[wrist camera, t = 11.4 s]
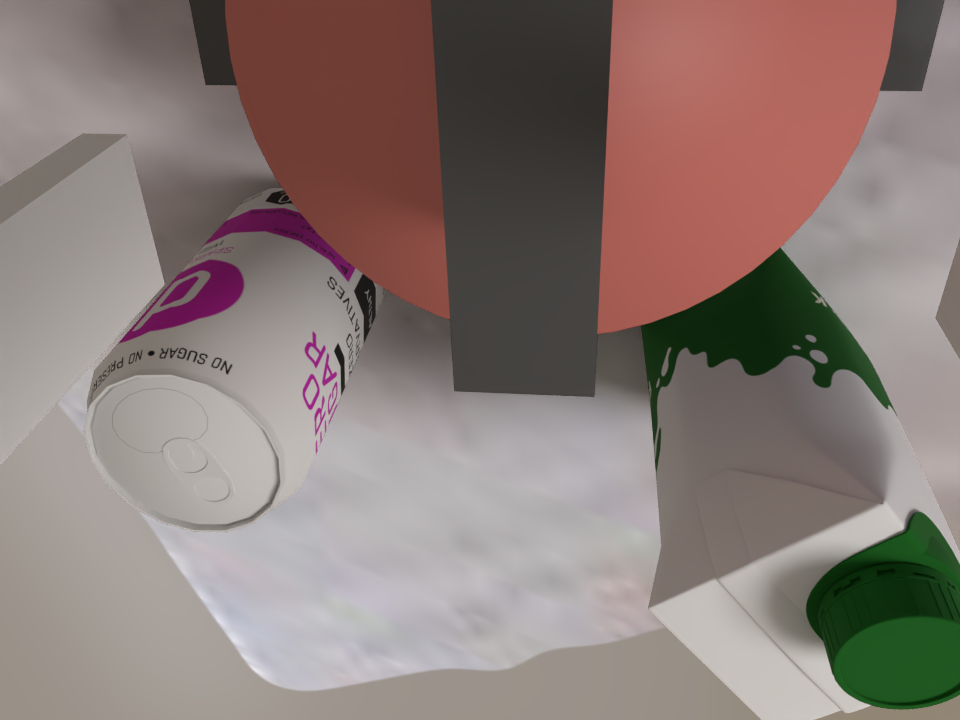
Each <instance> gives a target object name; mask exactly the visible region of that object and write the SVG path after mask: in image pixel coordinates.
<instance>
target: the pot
mask: <svg viewBox="0 0 960 720" xmlns="http://www.w3.org/2000/svg"><path fill="white" fill-rule="evenodd" d="M189 2H190V7H191V12H192V17H193V22H194V27H195V32H196V37H197V43H198V48H199V53H200V58H201V63H202V68H203V73H204V78H205V83H206V85H237V83H236V79H235V75H234V71H233V67H232V63H231V58H230V50H229V42H228V33H227V25H226V17H225V0H189ZM943 4H944V0H897V4H896V15H895V22H894V28H893V35H892V41H891V48H890V55H889V59H888V62H887V66H886V70H885V73H884V77H883V80H882V84H881V87H880V91H922V88H923V84H924V80H925V76H926V72H927V68H928V64H929V60H930V56H931V52H932V48H933V44H934V40H935V36H936V32H937V28H938V24H939V20H940V16H941V12H942V8H943Z"/></svg>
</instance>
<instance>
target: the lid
mask: <svg viewBox="0 0 960 720" xmlns="http://www.w3.org/2000/svg"><path fill="white" fill-rule="evenodd" d="M896 4H897V0H225V17H226V25H227V33H228V42H229V50H230V58H231V63H232V67H233V71H234V75H235V79H236V83H237V87H238V91H239V95H240V99H241V102H242V105H243V107H244V110H245V113H246V115H247V118H248V121H249V123H250V126H251V129H252V131H253V134H254V137H255V139H256V141H257V143H258V145H259V147H260V149H261V151H262V153H263V155H264V157H265V159H266V161H267V163H268V165H269V167H270V169H271V171H272V172H273V174H274V176H275V177H276V179H277V180H278V182H279V183H280V185H281V186H282V188H283V189H284V191H285V192H286V194H287V195H288V197H289V198H290V200H291V201H292V203H293V204H294V206H295V207H296V208H297V210H298V211H299V212H300V213H301V214H302V216H303V217H304V218H305V219H306V220H307V221H308V223H309V224H310V225H311V226H312V227H313V229H314V230H315V231H316V232H317V233H318V235H319V236H320V237H321V238H322V239H323V240H325V241H326V242H327V243H328V244H329V245H330V246H331V247H332V248H333V249H334V250H335V251H336V252H337V253H338V254H339V255H340V256H341V257H343V258H344V259H345V260H346V261H347V262H348V263H349V264H351V265H352V266H353V267H355V268H356V269H357V270H359V271H360V272H361V273H363V274H364V275H365V276H367V277H368V278H369V279H371V280H372V281H373V282H375V283H376V284H378V285H379V286H381V287H383V288H385V289H386V290H388V291H390V292H391V293H393V294H395V295H396V296H398V297H400V298H402V299H403V300H405V301H407V302H409V303H411V304H413V305H415V306H418V307H420V308H422V309H424V310H427V311H429V312H431V313H433V314H435V315H438V316H440V317H443V318H446V319H449V320H450V328H451V344H452V361H453V377H454V391H462V392H487V393H512V394H537V395H561V396H586V397H594V394H595V373H596V351H597V334H601V333H609V332H616V331H620V330H624V329H628V328H632V327H636V326H640V325H644V324H648V323H651V322H654V321H657V320H659V319H662V318H665V317H667V316H670V315H673V314H675V313H678V312H681V311H683V310H686V309H688V308H690V307H692V306H694V305H696V304H698V303H700V302H702V301H704V300H706V299H708V298H709V297H711V296H713V295H715V294H717V293H719V292H721V291H722V290H724V289H725V288H727V287H728V286H730V285H732V284H733V283H735V282H736V281H738V280H739V279H741V278H742V277H744V276H745V275H747V274H748V273H750V272H751V271H753V270H754V269H755V268H756V267H757V266H759V265H760V264H761V263H762V262H763V261H765V260H766V259H767V258H768V257H769V256H771V255H772V254H773V253H774V252H775V251H776V250H778V249H779V248H780V247H781V246H782V245H784V243H785V242H786V241H787V240H788V239H789V238H790V237H791V236H792V235H793V234H794V233H795V232H796V231H797V230H798V229H799V228H800V227H801V226H802V224H803V223H804V222H805V221H806V220H807V219H808V218H809V217H810V216H811V215H812V214H813V212H814V211H815V210H816V208H817V207H818V206H819V204H820V203H821V202H822V200H823V199H824V198H825V196H826V195H827V193H828V192H829V191H830V189H831V188H832V187H833V185H834V184H835V183H836V181H837V180H838V178H839V176H840V175H841V173H842V171H843V169H844V168H845V166H846V164H847V162H848V161H849V159H850V157H851V156H852V154H853V152H854V150H855V149H856V147H857V145H858V143H859V141H860V139H861V137H862V134H863V132H864V129H865V127H866V125H867V122H868V120H869V118H870V115H871V113H872V111H873V108H874V106H875V104H876V101H877V98H878V94H879V91H880V87H881V84H882V80H883V77H884V73H885V70H886V66H887V62H888V59H889V55H890V48H891V41H892V35H893V28H894V22H895V15H896Z"/></svg>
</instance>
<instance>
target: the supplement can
mask: <svg viewBox="0 0 960 720" xmlns="http://www.w3.org/2000/svg"><path fill="white" fill-rule="evenodd" d="M385 293H386V289H385V288H383V287H381V286H379V285H378V284H376V283H375V282H373V281H372V280H371V279H369V278H368V277H367V276H365V275H364V274H363V273H361V272H360V271H359V270H357V269H356V268H355V267H353V266H352V265H351V264H349V263H348V262H347V261H346V260H345V259H344V258H343V257H341V256H340V255H339V254H338V253H337V252H336V251H335V250H334V249H333V248H332V247H331V246H330V245H329V244H328V243H327V242H326V241H325V240H323V239H322V238H321V237H320V236H319V235H318V233H317V232H316V231H315V230H314V229H313V227H312V226H311V225H310V224H309V223H308V221H307V220H306V219H305V218H304V217H303V216H302V214H301V213H300V212H299V211H298V210H297V208H296V207H295V206H294V204H293V203H292V201H291V200H290V198H289V197H288V195H287V194H286V192H285V191H284V189H283V188H269V189H267V190H265V191H262V192H260V193H258V194H256V195H254V196H251V197H249V198H247V199H245V200H243V201H242V203H241V204H240V205H239V206H238V207H237V208H236V209H235V210H234V212H233V213H232V214H231V215H230V216H229V217H228V218H227V219H226V221H225V222H224V223H223V224H222V225H221V226H220V227H219V229H218V230H217V231H216V232H215V233H214V234H213V235H212V237H211V238H210V239H209V240H208V241H207V242H206V243H205V245H204V246H203V247H202V248H201V249H200V250H199V251H198V253H197V254H196V255H195V256H194V257H193V258H192V259H191V261H190V262H189V263H188V264H187V265H186V266H185V267H184V269H183V270H182V271H181V272H180V273H179V274H178V275H177V277H176V278H175V279H174V280H173V281H172V282H171V283H170V285H169V286H168V287H167V288H166V289H165V290H164V292H163V293H162V294H161V295H160V296H159V297H158V298H157V300H156V301H155V302H154V303H153V304H152V305H151V306H150V308H149V309H148V310H147V311H146V312H145V313H144V314H143V316H142V317H141V318H140V319H139V320H138V321H137V322H136V324H135V325H134V326H133V327H132V328H131V329H130V330H129V332H128V333H127V334H126V335H125V336H124V337H123V338H122V340H121V341H120V342H119V343H118V344H117V345H116V346H115V348H114V349H113V350H112V351H111V352H110V353H109V354H108V356H107V357H106V358H105V359H104V360H103V361H102V362H101V364H100V365H99V366H98V367H97V368H96V369H95V370H94V373H93V378H92V382H91V386H90V391H89V395H88V400H87V409H88V413H87V418H86V422H85V426H84V431H83V432H84V436H85V441H86V445H87V449H88V454H89V458H90V460H91V461H92V463H93V465H94V466H95V468H96V469H97V471H98V472H99V474H100V475H101V477H102V478H103V480H104V482H105V483H106V484H107V486H109V487H110V488H111V489H112V490H113V491H114V492H115V493H116V494H118V495H119V496H120V497H121V498H122V499H123V500H125V501H126V502H127V503H128V504H129V505H130V506H131V507H133V508H135V509H137V510H138V511H140V512H142V513H144V514H146V515H148V516H150V517H152V518H153V519H155V520H157V521H159V522H161V523H164V524H167V525H171V526H175V527H179V528H182V529H186V530H190V531H194V532H228V531H232V530H235V529H238V528H242V527H245V526H248V525H252V524H254V523H255V522H256V521H258V520H259V519H260V518H261V517H263V516H264V515H265V514H266V513H267V512H269V511H270V510H272V509H274V508H276V507H278V506H279V505H280V504H282V503H283V502H284V501H285V500H287V499H288V498H289V497H290V496H291V495H293V494H294V493H295V492H296V491H298V490H299V489H300V488H301V487H302V484H303V482H304V480H305V478H306V476H307V473H308V471H309V469H310V467H311V465H312V462H313V460H314V458H315V455H316V453H317V451H318V448H319V446H320V444H321V442H322V439H323V437H324V435H325V432H326V430H327V428H328V425H329V423H330V421H331V418H332V416H333V414H334V411H335V409H336V407H337V404H338V402H339V400H340V397H341V395H342V393H343V391H344V388H345V386H346V384H347V381H348V379H349V377H350V374H351V372H352V370H353V367H354V365H355V363H356V360H357V358H358V356H359V353H360V351H361V349H362V346H363V344H364V342H365V340H366V337H367V335H368V333H369V330H370V328H371V326H372V323H373V321H374V319H375V316H376V314H377V312H378V309H379V307H380V305H381V302H382V300H383V298H384V295H385Z"/></svg>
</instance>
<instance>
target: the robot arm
mask: <svg viewBox="0 0 960 720" xmlns="http://www.w3.org/2000/svg"><path fill="white" fill-rule="evenodd" d="M164 285H165V283H164V279H163V275H162V271H161V267H160V263H159V259H158V255H157V251H156V247H155V244H154V240H153V236H152V232H151V228H150V224H149V220H148V216H147V212H146V208H145V204H144V200H143V196H142V192H141V188H140V184H139V181H138V177H137V173H136V169H135V165H134V161H133V157H132V153H131V149H130V145H129V141H128V137H127V135H121V134H82V135H80V136H78V137H77V138H75V139H74V140H72V141H71V142H69V143H68V144H66V145H65V146H63V147H62V148H60V149H58V150H57V151H55V152H54V153H52V154H51V155H49V156H48V157H46V158H45V159H43V160H41V161H40V162H38V163H37V164H35V165H34V166H32V167H31V168H29V169H28V170H26V171H25V172H23V173H21V174H20V175H18V176H17V177H15V178H14V179H12V180H11V181H9V182H8V183H6V184H5V185H3V186H1V187H0V465H1V464H2V463H3V462H4V461H5V459H6V458H7V457H8V456H9V455H10V454H11V453H12V452H13V451H14V450H15V449H16V448H17V446H18V445H19V444H20V443H21V442H22V441H23V440H24V439H25V438H26V437H27V435H28V434H29V433H30V432H31V431H32V430H33V429H34V428H35V427H36V426H37V424H38V423H39V422H40V421H41V420H42V419H43V418H44V417H45V416H46V415H47V413H48V412H49V411H50V410H51V409H52V408H53V407H54V406H55V405H56V404H57V403H58V401H59V400H60V399H61V398H62V397H63V396H64V395H65V394H66V393H67V392H68V390H69V389H70V388H71V387H72V386H73V385H74V384H75V383H76V382H77V381H78V379H79V378H80V377H81V376H82V375H83V374H84V373H85V372H86V371H87V370H88V368H89V367H90V366H91V365H92V364H93V363H94V362H95V361H96V360H97V359H98V358H99V356H100V355H101V354H102V353H103V352H104V351H105V350H106V349H107V348H108V347H109V345H110V344H111V343H112V342H113V341H114V340H115V339H116V338H117V337H118V336H119V334H120V333H121V332H122V331H123V330H124V329H125V328H126V327H127V326H128V325H129V323H130V322H131V321H132V320H133V319H134V318H135V317H136V316H137V315H138V314H139V312H140V311H141V310H142V309H143V308H144V307H145V306H146V305H147V304H148V303H149V301H150V300H151V299H152V298H153V297H154V296H155V295H156V294H157V293H158V292H159V290H160V289H161V288H162V287H163V286H164ZM936 320H937V321H938V323H939V325H940V326H941V328H942V330H943V331H944V333H945V335H946V337H947V338H948V340H949V342H950V343H951V345H952V347H953V348H954V350H955V352H956V353H957V355H958V357H959V358H960V240H959V243H958V246H957V249H956V253H955V256H954V259H953V263H952V266H951V269H950V272H949V276H948V279H947V282H946V286H945V289H944V292H943V295H942V299H941V302H940V305H939V308H938V312H937V315H936Z"/></svg>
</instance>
